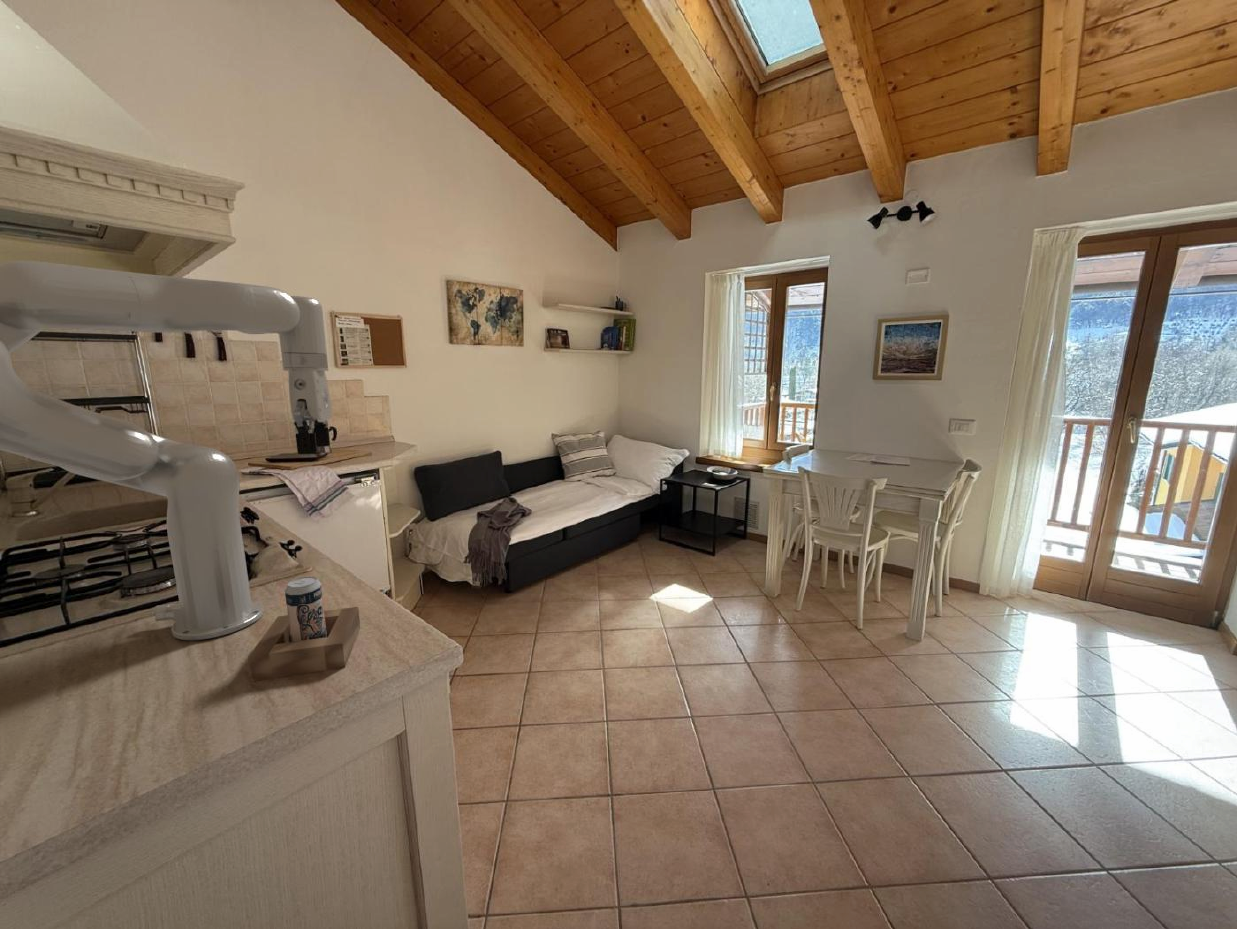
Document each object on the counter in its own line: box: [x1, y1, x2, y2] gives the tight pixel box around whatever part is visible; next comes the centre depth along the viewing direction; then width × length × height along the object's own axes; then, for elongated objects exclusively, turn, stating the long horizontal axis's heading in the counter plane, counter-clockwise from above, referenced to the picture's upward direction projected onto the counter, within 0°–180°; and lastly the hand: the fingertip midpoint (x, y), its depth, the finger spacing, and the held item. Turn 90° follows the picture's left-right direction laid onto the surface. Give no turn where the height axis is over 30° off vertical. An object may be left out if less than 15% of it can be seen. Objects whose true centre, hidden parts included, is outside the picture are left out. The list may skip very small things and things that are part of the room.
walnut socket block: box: [248, 606, 361, 682], centre depth 78 cm, size 12×12×4 cm
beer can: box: [284, 576, 327, 642], centre depth 77 cm, size 5×5×12 cm
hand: (314, 449), depth 99 cm, fingers open, 9 cm apart
